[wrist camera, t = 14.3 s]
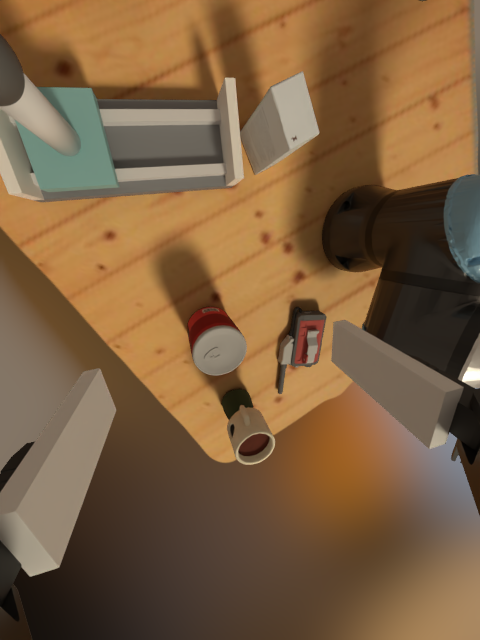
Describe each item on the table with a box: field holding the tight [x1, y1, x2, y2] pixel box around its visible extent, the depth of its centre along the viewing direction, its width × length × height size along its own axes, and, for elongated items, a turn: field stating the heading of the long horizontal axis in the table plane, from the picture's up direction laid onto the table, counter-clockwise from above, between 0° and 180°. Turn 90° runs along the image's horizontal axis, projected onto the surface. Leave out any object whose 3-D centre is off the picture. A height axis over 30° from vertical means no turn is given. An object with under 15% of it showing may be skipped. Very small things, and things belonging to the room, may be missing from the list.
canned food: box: [187, 307, 247, 375], centre depth 38 cm, size 8×8×11 cm
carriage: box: [0, 34, 119, 192], centre depth 20 cm, size 8×9×17 cm
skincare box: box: [240, 71, 319, 175], centre depth 31 cm, size 6×4×12 cm
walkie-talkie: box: [278, 307, 326, 394], centre depth 49 cm, size 9×4×20 cm
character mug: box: [221, 389, 275, 464], centre depth 45 cm, size 11×7×13 cm, turn 12°
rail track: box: [0, 78, 244, 202], centre depth 29 cm, size 26×10×7 cm, turn 96°
